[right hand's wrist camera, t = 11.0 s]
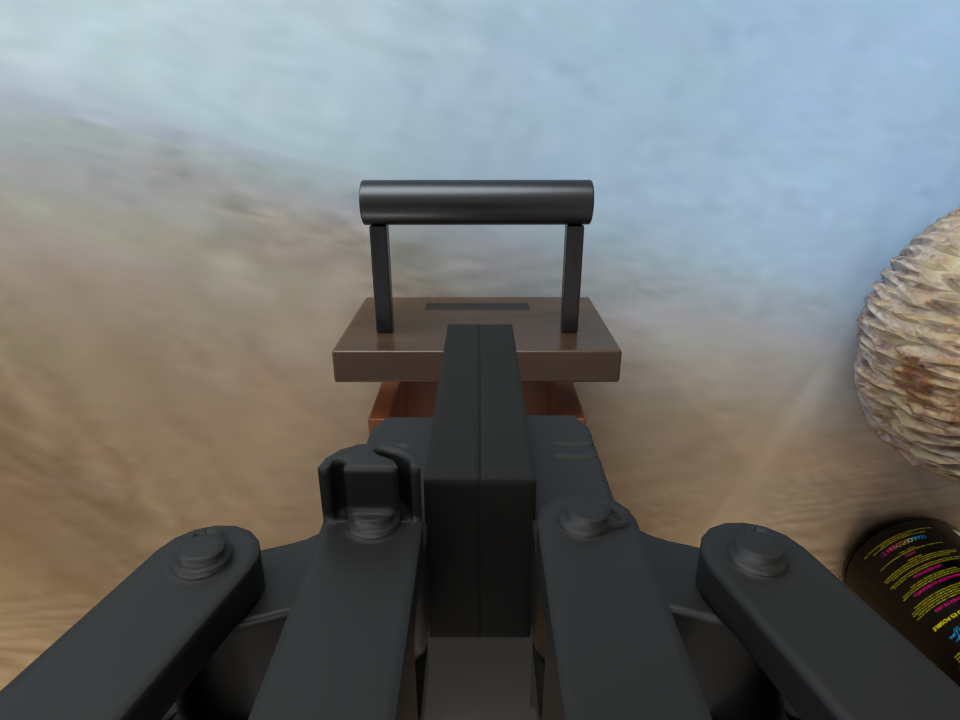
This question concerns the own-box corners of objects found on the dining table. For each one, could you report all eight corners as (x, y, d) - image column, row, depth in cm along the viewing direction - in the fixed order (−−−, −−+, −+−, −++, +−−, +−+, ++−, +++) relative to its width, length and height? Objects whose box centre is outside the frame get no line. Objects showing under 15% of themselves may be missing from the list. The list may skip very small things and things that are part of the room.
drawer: (356, 169, 25) (315, 186, 19) (597, 169, 25) (637, 186, 19) (389, 620, 34) (368, 734, 28) (567, 620, 34) (587, 734, 28)
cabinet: (370, 471, 32) (332, 595, 24) (585, 471, 32) (623, 595, 24) (391, 741, 39) (367, 908, 31) (566, 741, 39) (589, 907, 31)
